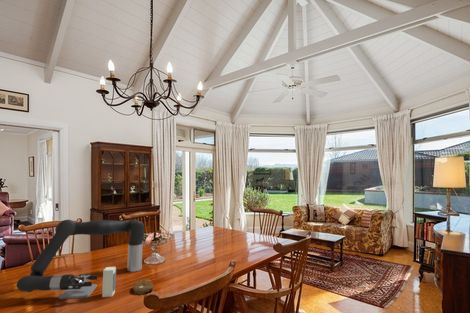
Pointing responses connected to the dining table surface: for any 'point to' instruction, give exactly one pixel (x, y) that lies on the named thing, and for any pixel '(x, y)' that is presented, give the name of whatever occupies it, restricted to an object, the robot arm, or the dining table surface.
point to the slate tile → (78, 292)
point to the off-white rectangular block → (109, 281)
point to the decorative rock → (142, 286)
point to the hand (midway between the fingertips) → (94, 280)
